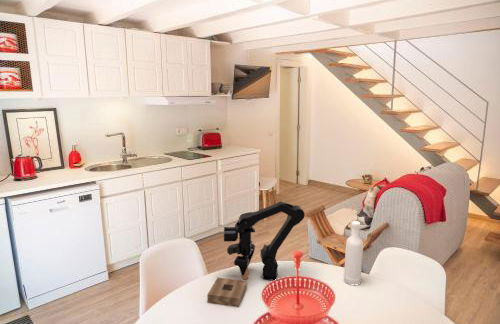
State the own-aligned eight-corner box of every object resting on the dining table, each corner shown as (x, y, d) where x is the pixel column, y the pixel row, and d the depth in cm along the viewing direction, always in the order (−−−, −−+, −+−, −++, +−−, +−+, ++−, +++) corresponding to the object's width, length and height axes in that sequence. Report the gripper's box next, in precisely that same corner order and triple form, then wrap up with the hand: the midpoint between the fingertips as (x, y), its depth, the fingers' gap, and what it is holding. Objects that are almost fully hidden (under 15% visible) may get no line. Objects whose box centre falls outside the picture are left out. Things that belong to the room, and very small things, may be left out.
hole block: (246, 288, 153) (246, 281, 152) (239, 307, 139) (239, 298, 139) (217, 285, 156) (217, 277, 155) (207, 302, 142) (207, 294, 142)
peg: (248, 276, 163) (248, 258, 161) (247, 280, 160) (247, 260, 158) (242, 276, 164) (242, 257, 162) (241, 279, 161) (241, 260, 159)
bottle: (341, 282, 159) (345, 223, 153) (346, 275, 165) (349, 218, 160) (358, 287, 154) (362, 226, 149) (362, 279, 161) (366, 221, 155)
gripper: (234, 231, 169) (234, 259, 172) (223, 247, 151) (223, 278, 154) (255, 233, 167) (255, 262, 170) (247, 249, 149) (247, 281, 152)
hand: (245, 270), depth 161 cm, fingers open, 9 cm apart
